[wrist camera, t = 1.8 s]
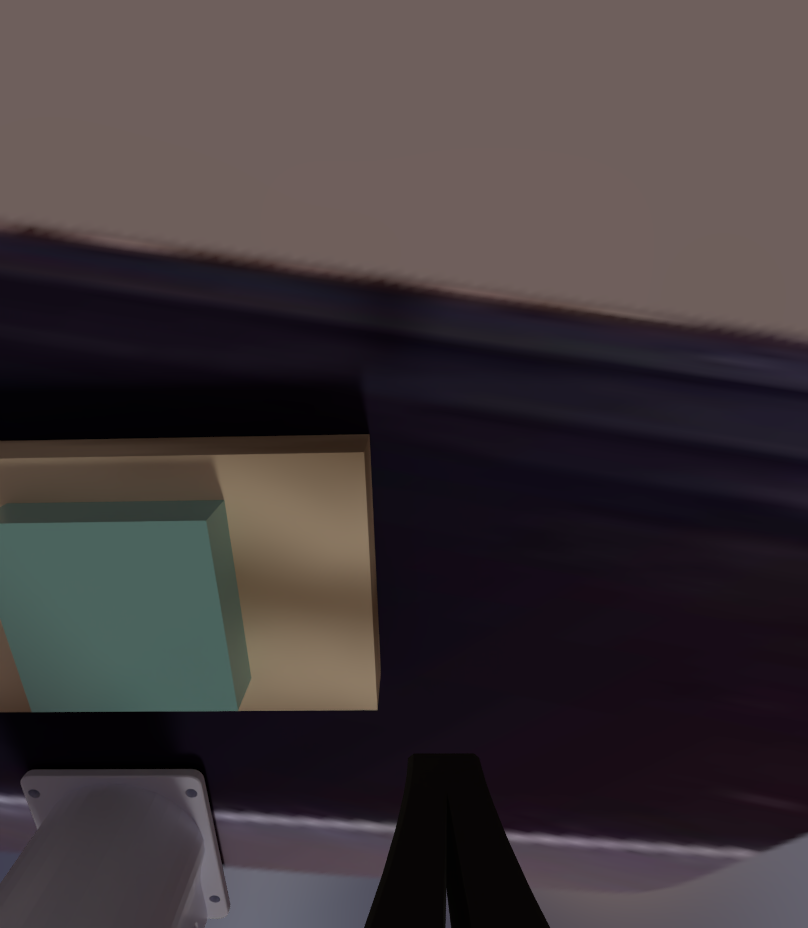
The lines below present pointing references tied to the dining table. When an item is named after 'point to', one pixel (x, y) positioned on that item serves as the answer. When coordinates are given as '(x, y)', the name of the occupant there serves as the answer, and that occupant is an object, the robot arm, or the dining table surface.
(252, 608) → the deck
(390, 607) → the dining table surface
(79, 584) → the tile
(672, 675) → the dining table surface
